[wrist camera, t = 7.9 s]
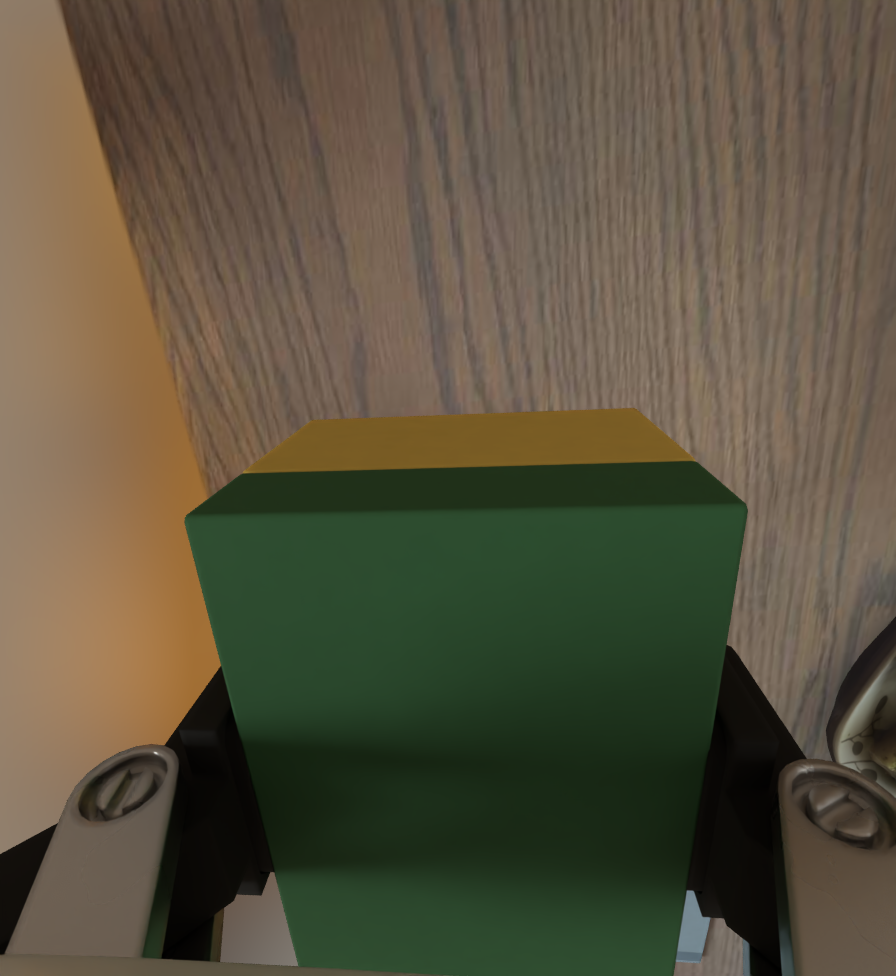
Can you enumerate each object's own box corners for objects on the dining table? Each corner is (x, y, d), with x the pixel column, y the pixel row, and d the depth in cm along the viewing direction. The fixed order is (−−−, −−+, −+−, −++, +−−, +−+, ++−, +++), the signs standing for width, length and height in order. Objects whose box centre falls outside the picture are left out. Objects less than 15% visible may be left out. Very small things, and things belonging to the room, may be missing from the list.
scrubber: (609, 778, 13) (667, 1023, 8) (364, 771, 13) (304, 999, 9) (636, 406, 9) (753, 505, 5) (310, 419, 10) (179, 516, 6)
